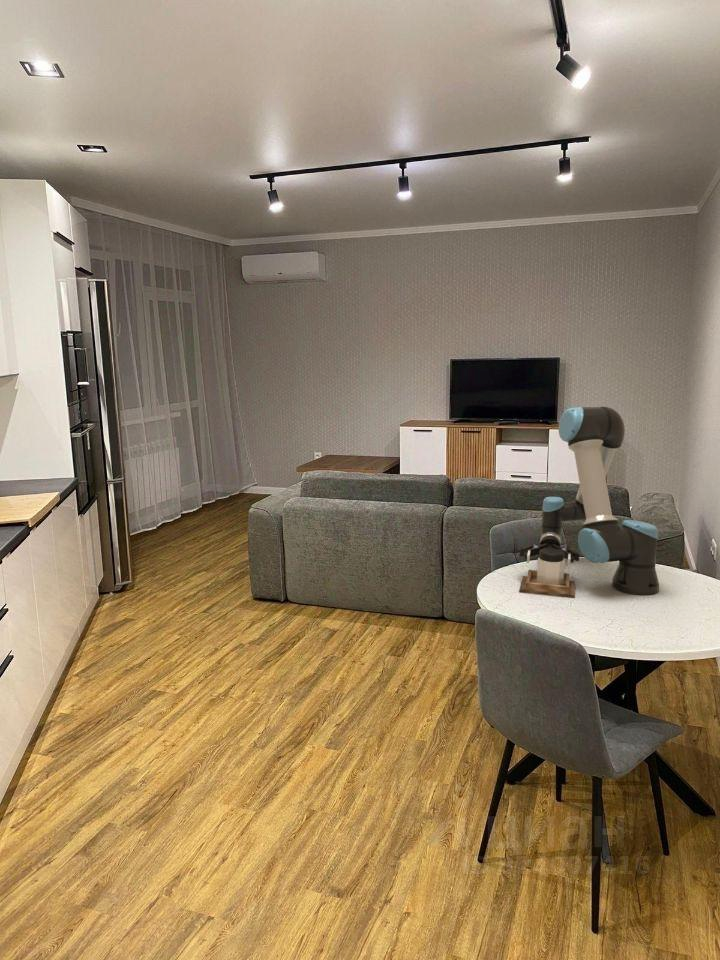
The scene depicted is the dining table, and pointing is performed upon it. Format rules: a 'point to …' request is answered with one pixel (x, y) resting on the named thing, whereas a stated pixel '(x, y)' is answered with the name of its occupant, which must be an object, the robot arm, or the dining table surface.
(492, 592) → the dining table surface
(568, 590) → the wooden tray
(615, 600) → the dining table surface
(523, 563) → the dining table surface
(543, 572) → the jar
